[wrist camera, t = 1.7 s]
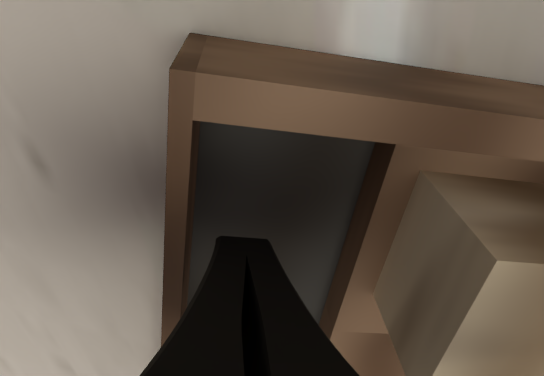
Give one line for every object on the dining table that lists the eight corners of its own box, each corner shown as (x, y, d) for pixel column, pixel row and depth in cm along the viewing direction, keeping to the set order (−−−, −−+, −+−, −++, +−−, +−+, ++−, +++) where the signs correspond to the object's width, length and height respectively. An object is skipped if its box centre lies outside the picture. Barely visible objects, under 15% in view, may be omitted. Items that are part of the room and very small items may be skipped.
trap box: (893, 138, 15) (1088, 193, 12) (625, 405, 23) (692, 483, 20) (189, 33, 11) (169, 68, 8) (170, 397, 20) (156, 491, 16)
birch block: (569, 186, 12) (696, 275, 9) (499, 301, 15) (579, 405, 11) (420, 170, 12) (497, 260, 8) (372, 293, 14) (416, 403, 11)
